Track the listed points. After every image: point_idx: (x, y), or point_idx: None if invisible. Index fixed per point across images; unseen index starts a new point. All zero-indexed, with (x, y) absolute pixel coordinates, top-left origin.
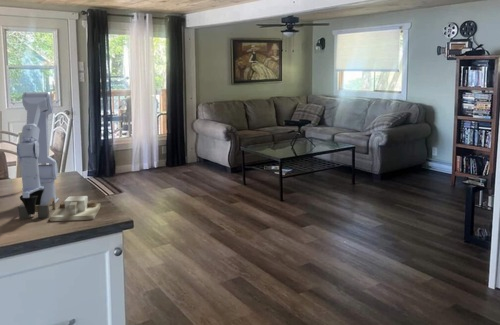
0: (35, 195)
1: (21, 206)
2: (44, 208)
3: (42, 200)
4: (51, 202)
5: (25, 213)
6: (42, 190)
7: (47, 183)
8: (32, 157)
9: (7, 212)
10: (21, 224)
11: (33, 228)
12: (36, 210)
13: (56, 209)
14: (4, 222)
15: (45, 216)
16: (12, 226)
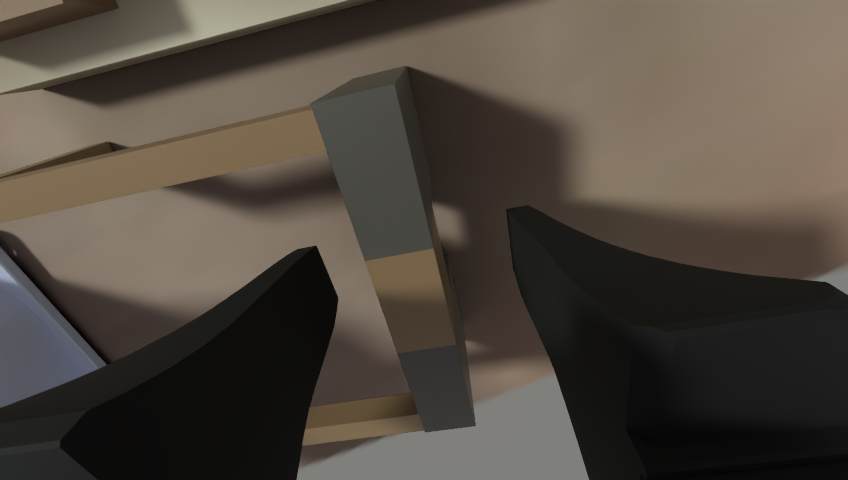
0: (247, 430)
1: (462, 404)
2: (408, 130)
3: (18, 353)
4: (124, 150)
5: (456, 313)
6: (66, 442)
7: None
8: None
9: (327, 444)
10: (626, 240)
11: (815, 45)
12: (435, 228)
13: (194, 36)
14: (551, 375)
15: (414, 102)
16: None
